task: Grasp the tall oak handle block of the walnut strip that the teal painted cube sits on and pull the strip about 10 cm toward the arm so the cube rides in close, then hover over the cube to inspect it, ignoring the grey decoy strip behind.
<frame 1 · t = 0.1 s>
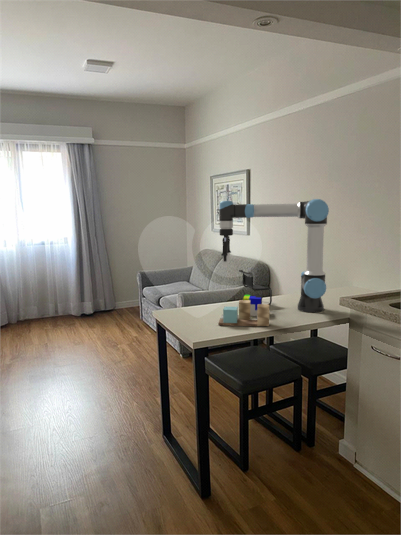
hand: (226, 265, 230), 28 cm above the table, fingers open, 13 cm apart
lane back: (235, 310, 219), point 5 cm above the table, slide at 0.0 cm
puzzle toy: (252, 313, 232), on the table
cube: (230, 321, 211), point 1 cm above the table, touching lane front
lane front: (243, 314, 209), point 5 cm above the table, slide at 0.0 cm, touching cube
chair: (255, 305, 253), on the table
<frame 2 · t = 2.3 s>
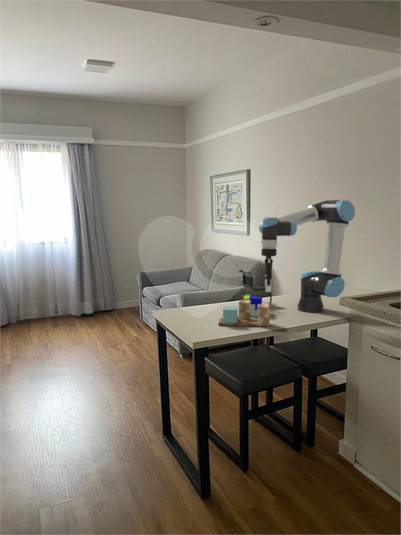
hand: (267, 289, 205), 19 cm above the table, fingers open, 13 cm apart
nothing on the table moved.
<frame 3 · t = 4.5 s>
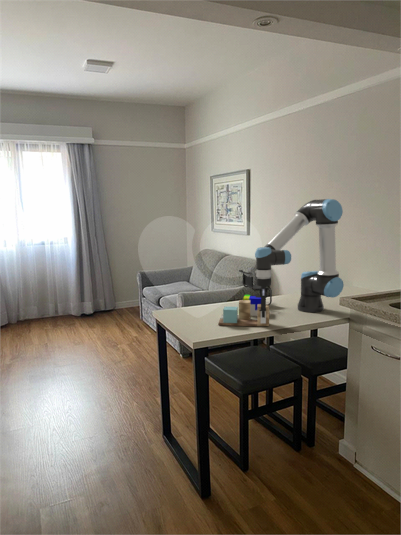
hand: (263, 321, 208), 2 cm above the table, fingers closed on lane front, 6 cm apart
lane front: (243, 314, 209), point 5 cm above the table, slide at 0.0 cm, touching cube, gripper
everything else where it was.
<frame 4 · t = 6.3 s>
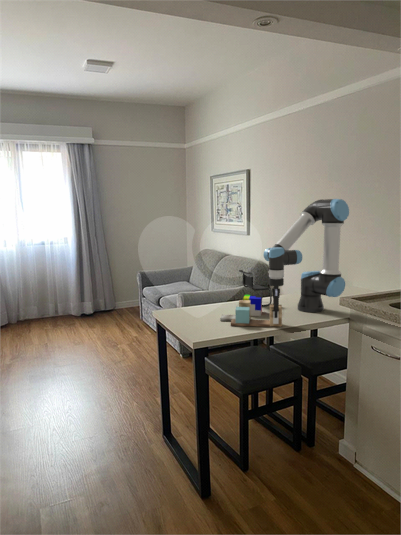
hand: (275, 321, 207), 2 cm above the table, fingers closed on lane front, 6 cm apart
cube: (242, 321, 210), point 1 cm above the table, touching lane front
lane front: (256, 314, 208), point 5 cm above the table, slide at 6.3 cm, touching cube, gripper
everything else where it was.
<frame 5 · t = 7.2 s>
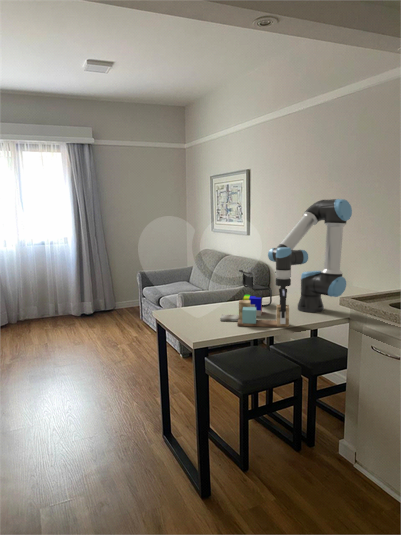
hand: (282, 321, 207), 2 cm above the table, fingers closed on lane front, 6 cm apart
cube: (249, 321, 209), point 1 cm above the table, touching lane front
lane front: (263, 314, 208), point 5 cm above the table, slide at 9.9 cm, touching cube, gripper
everything else where it was.
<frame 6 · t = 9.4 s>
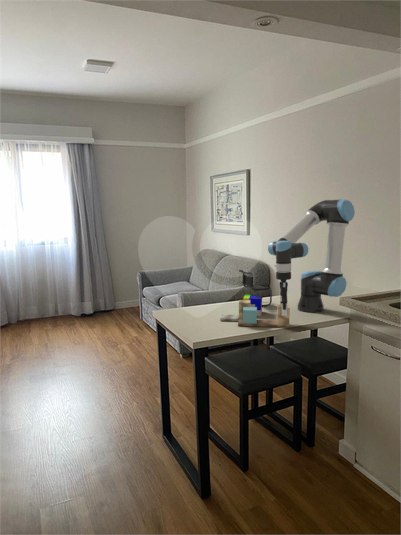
hand: (283, 312, 206), 7 cm above the table, fingers open, 13 cm apart
lane front: (263, 315, 208), point 5 cm above the table, slide at 10.1 cm, touching cube
everything else where it was.
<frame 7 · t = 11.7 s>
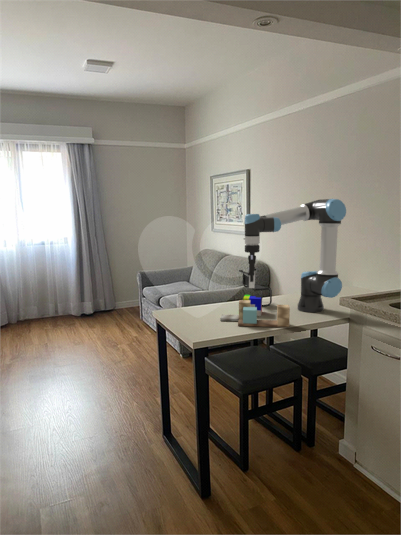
hand: (252, 285, 207), 21 cm above the table, fingers open, 13 cm apart
nothing on the table moved.
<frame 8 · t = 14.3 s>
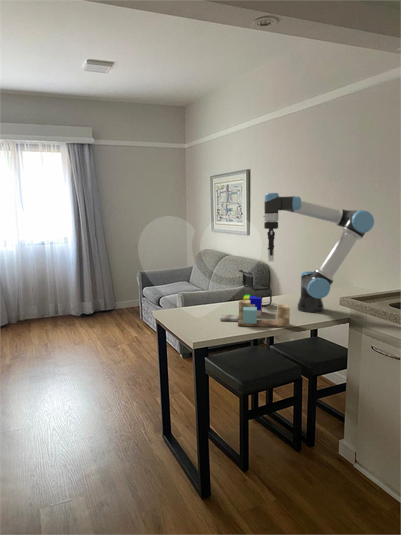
hand: (270, 259, 223), 32 cm above the table, fingers open, 13 cm apart
nothing on the table moved.
at the end: lane front slide at 10.1 cm; cube inside the target area (0.1 cm from its centre), point 1.5 cm above the table; cube tilted 0° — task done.
